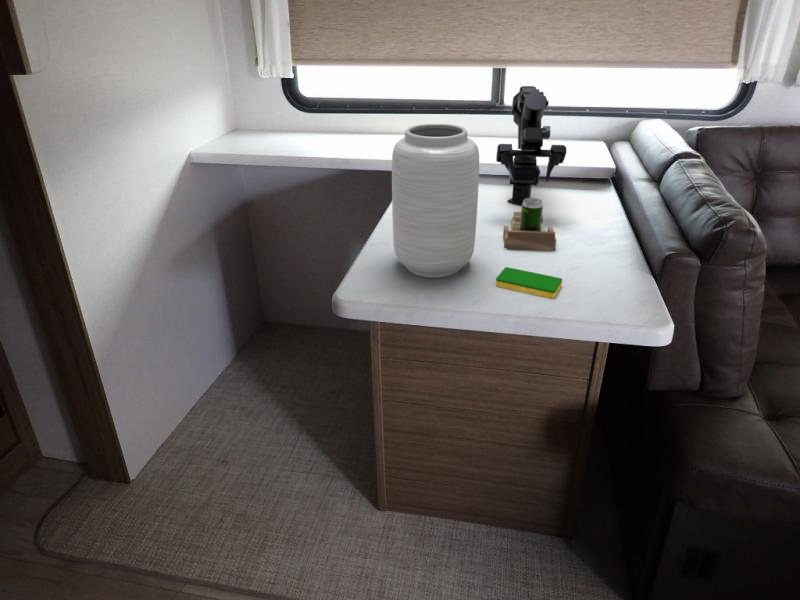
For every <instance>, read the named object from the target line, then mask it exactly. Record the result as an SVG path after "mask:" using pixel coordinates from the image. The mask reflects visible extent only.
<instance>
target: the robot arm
mask: <svg viewBox="0 0 800 600" xmlns="http://www.w3.org/2000/svg"><path fill="white" fill-rule="evenodd" d="M544 94H545V93H544V91H540V89H538V88H537V87H536V86H534V85H530V86H529V85H523V86H520V87H519V91H518V92H517V93H516V94H514V96H513V97H512V103H511V115H512V116H513V120H512V121H513V123H514V124H516V126H517V148H513V144H512V143H499V144H498V145H497V147H496V157H495V158H496V159H495V160H496V162H497V163H500V165H503V166H504V167H505V168H506V170H507V172H508V174H509V180H508V181H509V185H512V193H511V198H509V199H507V203H511V204H515V205H519V206H522V203H523V200H524V199H526V198H531V196H532V195H531V193H532V186H538V184H539V183H540V182H539V181H540V176H541V170H540V167H539V165H537V162H538V161H537V158H548V162H547V167H546V175H545V182H546V183H548V182H549V179H550V176H551V173H552V171H553V170H554V168H555V167H557V166H559V165H560V164H563V163H564V161H565V158H566V155H567V147H566V146H565V145H564V144H551V146H550V149H542V148H543V145H544V140H549V139H550V138H551V126H550V125H544V126H543V127H542V119H543V118H544V113H545V109H547V107H549V103H550V101H549V100H547V99H548V98H547V96H546V95H544Z"/></svg>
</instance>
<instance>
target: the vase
mask: <svg viewBox="0 0 800 600" xmlns="http://www.w3.org/2000/svg"><path fill="white" fill-rule="evenodd" d="M479 180H480V153H479V147H478V145H477V143H476V142H475V141H474V140H472V139H471V138H469V137H468V130H467V129H466V128H464V127H463V126H460V125H456V124H449V123H423V124H416V125H412V126H409V127H407V128H406V129H405V131H404V137H403V138H401V139H400V140H398V141H397V142H396V143H395V145H394V146H393V151H392V157H391V204H392V205H391V206H392V207H391V208H392V209H391V210H392V211H391V212H392V241H393V250H394V254H395V256H396V258H397V260H398V261H399V263H401V264H402V265H403V266H404V267H405V268H406V269H407V271H408V272H410V273H412V274H413V275H416V276H420V277H423V278H430V279H432V278H433V279H434V278H437V279H438V278H446V277H449V276H452V275H455V274H458V272H459V271H460V270H461V269H462V268H463V267H464V266H465V265H467V264H468V263H469V261H470V260H471V259H472V257H473V254H474V251H475V245H476V243H475V242H476V232H477V222H478V221H477V219H478V218H477V217H478V203H479V199H478V198H479V183H480V182H479Z"/></svg>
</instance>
